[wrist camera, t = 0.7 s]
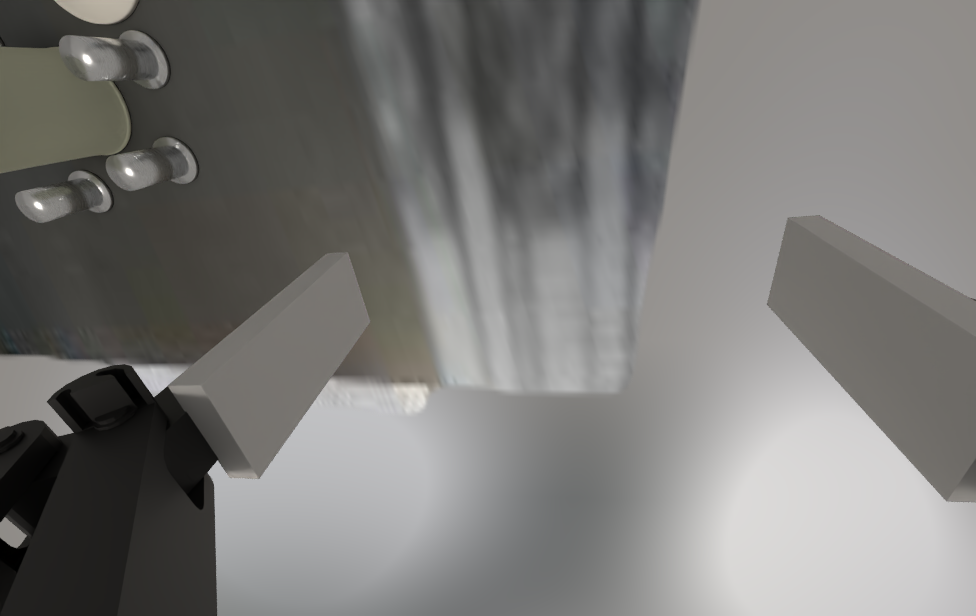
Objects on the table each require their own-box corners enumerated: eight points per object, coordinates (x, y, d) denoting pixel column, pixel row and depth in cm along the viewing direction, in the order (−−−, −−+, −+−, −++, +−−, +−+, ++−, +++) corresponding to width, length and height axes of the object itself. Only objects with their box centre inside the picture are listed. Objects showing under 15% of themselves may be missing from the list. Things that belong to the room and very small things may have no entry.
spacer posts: (-128, -75, 34) (-250, -101, 29) (26, -191, 29) (-88, -248, 24) (93, 215, 45) (34, 234, 40) (230, 168, 40) (183, 182, 35)
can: (72, 157, 42) (-83, 185, 32) (14, 52, 37) (-190, 45, 27) (149, 151, 40) (12, 178, 30) (97, 41, 36) (-84, 29, 26)
